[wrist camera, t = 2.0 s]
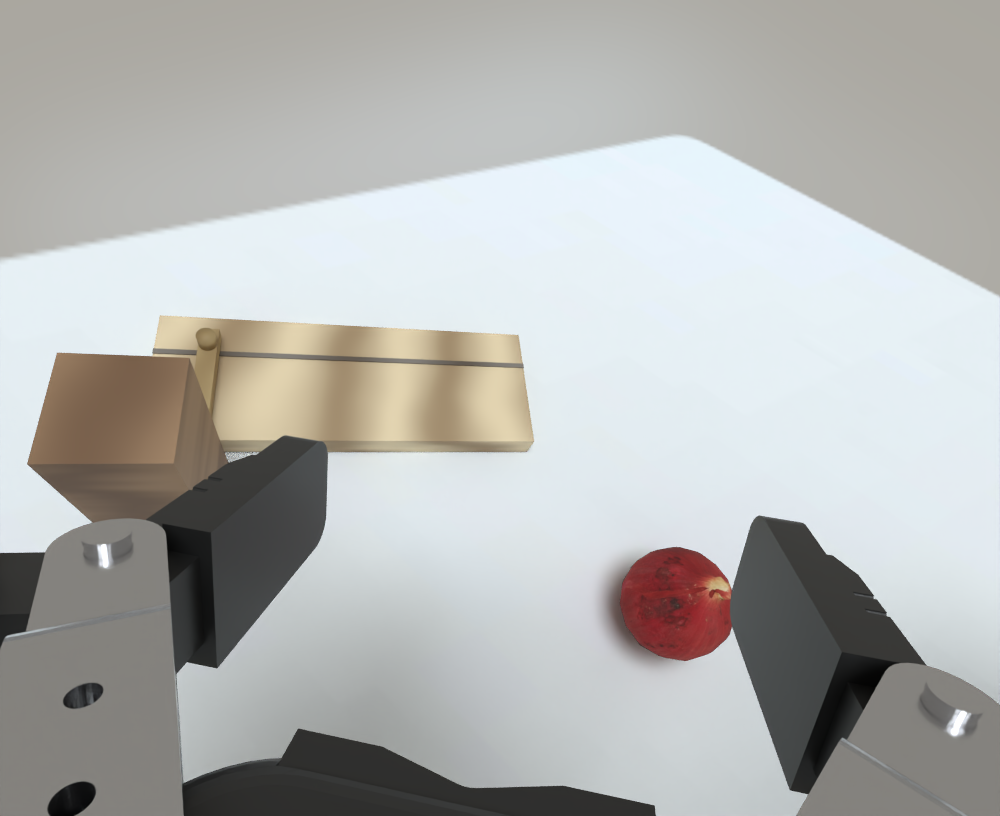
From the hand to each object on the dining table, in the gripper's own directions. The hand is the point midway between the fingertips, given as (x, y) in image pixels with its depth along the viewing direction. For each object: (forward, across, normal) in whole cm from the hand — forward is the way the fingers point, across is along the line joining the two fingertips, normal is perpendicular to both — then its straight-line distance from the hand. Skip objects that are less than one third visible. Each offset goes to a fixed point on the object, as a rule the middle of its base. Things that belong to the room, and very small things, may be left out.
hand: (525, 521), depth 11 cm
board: (+24, +12, +7) cm, 28 cm away
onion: (+21, -7, +16) cm, 28 cm away
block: (+19, +19, +9) cm, 28 cm away
